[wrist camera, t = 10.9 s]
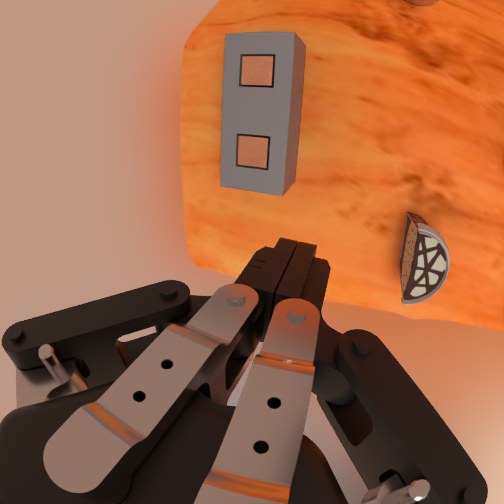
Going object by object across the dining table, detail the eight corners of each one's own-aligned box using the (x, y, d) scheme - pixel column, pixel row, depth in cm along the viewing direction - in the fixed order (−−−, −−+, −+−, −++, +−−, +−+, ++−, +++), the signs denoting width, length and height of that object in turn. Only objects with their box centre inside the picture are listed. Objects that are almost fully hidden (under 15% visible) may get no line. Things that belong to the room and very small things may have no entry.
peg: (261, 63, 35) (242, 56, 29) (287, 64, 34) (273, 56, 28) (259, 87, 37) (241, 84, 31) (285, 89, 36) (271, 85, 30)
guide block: (247, 44, 34) (225, 33, 28) (305, 45, 32) (294, 32, 26) (241, 173, 46) (220, 186, 39) (294, 181, 43) (282, 196, 37)
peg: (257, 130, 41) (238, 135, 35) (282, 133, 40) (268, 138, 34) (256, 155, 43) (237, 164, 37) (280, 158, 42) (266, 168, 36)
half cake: (428, 274, 42) (438, 310, 34) (396, 270, 44) (402, 307, 36) (442, 207, 36) (461, 234, 28) (407, 203, 38) (420, 228, 30)
